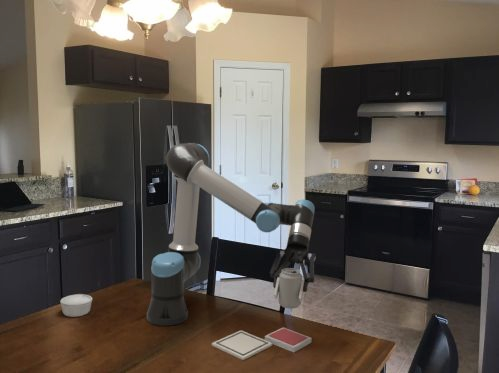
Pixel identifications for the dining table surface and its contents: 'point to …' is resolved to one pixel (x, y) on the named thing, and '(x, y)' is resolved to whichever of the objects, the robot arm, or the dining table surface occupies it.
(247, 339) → the marked board
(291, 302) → the can
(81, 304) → the ramekin
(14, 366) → the dining table surface
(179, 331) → the dining table surface
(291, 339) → the ink pad
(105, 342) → the dining table surface
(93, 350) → the dining table surface
